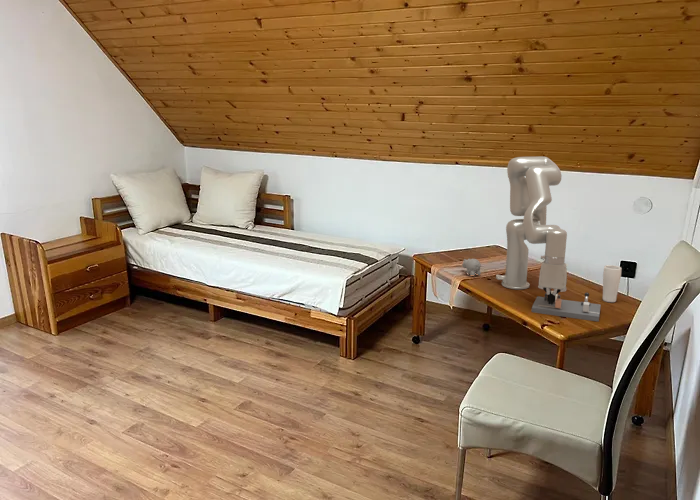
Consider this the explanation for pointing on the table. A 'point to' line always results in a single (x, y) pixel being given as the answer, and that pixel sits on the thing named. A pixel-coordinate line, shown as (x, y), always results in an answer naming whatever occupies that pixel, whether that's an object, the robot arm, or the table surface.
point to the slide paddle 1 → (558, 303)
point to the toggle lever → (586, 296)
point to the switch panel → (566, 309)
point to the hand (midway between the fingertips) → (550, 303)
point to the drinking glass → (611, 282)
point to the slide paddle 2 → (586, 307)
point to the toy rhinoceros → (472, 266)
